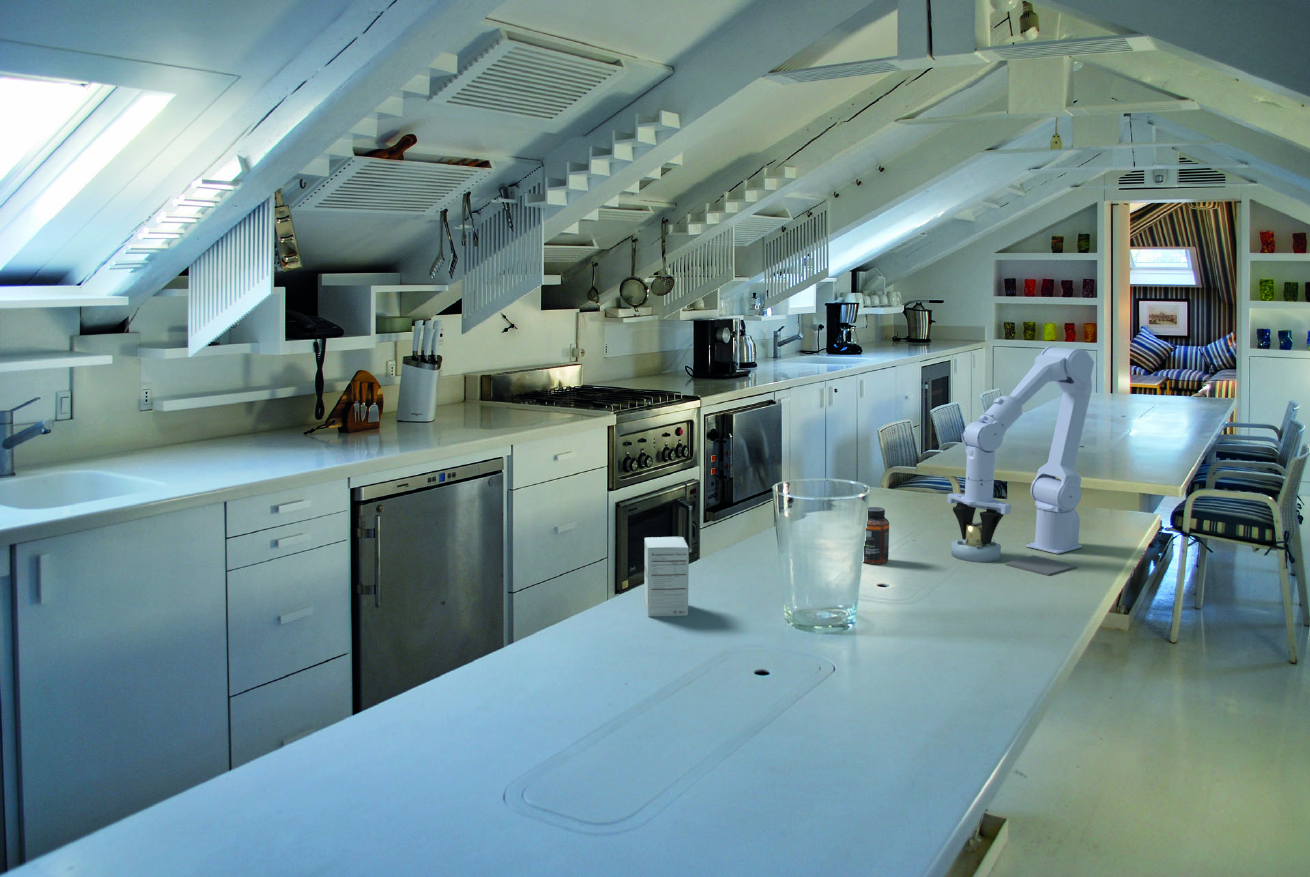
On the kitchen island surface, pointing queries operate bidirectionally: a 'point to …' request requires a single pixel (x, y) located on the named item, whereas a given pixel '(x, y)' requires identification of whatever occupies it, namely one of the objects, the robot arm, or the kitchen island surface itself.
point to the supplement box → (666, 576)
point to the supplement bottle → (876, 537)
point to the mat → (1041, 565)
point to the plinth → (976, 551)
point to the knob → (974, 534)
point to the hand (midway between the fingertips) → (976, 541)
